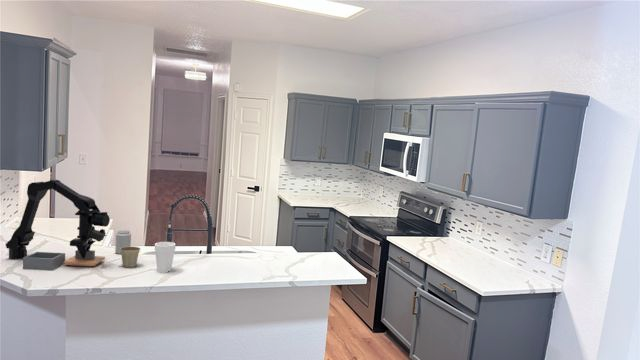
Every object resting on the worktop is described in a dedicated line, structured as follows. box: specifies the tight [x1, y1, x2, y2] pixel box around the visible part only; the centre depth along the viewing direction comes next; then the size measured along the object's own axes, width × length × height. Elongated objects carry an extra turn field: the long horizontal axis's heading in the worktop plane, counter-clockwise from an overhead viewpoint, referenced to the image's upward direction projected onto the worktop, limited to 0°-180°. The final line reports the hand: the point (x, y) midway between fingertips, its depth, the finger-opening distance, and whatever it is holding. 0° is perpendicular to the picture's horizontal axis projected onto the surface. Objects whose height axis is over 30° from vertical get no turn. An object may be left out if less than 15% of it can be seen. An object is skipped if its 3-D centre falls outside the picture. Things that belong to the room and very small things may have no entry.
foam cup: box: [154, 241, 176, 273], centre depth 216 cm, size 10×9×13 cm
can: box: [114, 229, 132, 255], centre depth 243 cm, size 8×8×12 cm
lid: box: [64, 249, 106, 267], centre depth 216 cm, size 14×12×6 cm
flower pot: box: [120, 246, 141, 268], centre depth 220 cm, size 9×9×9 cm
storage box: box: [22, 251, 66, 271], centre depth 208 cm, size 13×11×6 cm
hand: (84, 256), depth 216 cm, fingers open, 3 cm apart
